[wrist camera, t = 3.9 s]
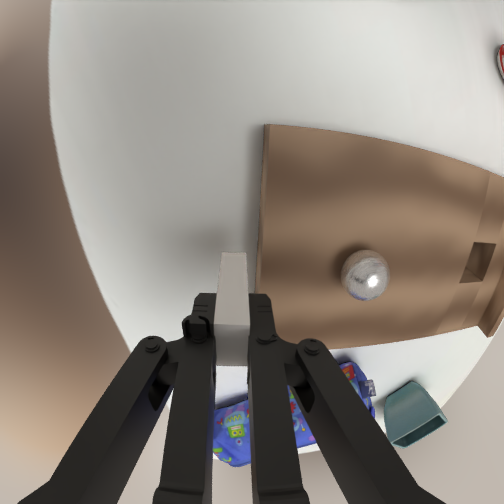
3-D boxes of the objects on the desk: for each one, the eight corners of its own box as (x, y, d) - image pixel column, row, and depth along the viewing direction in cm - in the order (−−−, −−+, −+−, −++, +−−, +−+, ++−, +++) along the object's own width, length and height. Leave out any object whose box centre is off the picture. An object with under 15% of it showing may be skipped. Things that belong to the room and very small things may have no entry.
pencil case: (355, 340, 29) (384, 407, 20) (369, 374, 32) (392, 430, 24) (199, 400, 33) (193, 461, 24) (232, 424, 36) (233, 477, 28)
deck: (264, 124, 18) (275, 124, 12) (509, 180, 20) (547, 198, 14) (252, 322, 26) (256, 374, 20) (469, 306, 28) (494, 335, 22)
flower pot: (371, 399, 36) (388, 445, 28) (417, 369, 33) (440, 413, 25) (389, 410, 39) (404, 449, 31) (429, 384, 36) (448, 421, 28)
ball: (339, 240, 18) (357, 265, 15) (382, 242, 18) (405, 265, 15) (330, 283, 20) (345, 312, 17) (371, 282, 20) (389, 309, 17)
